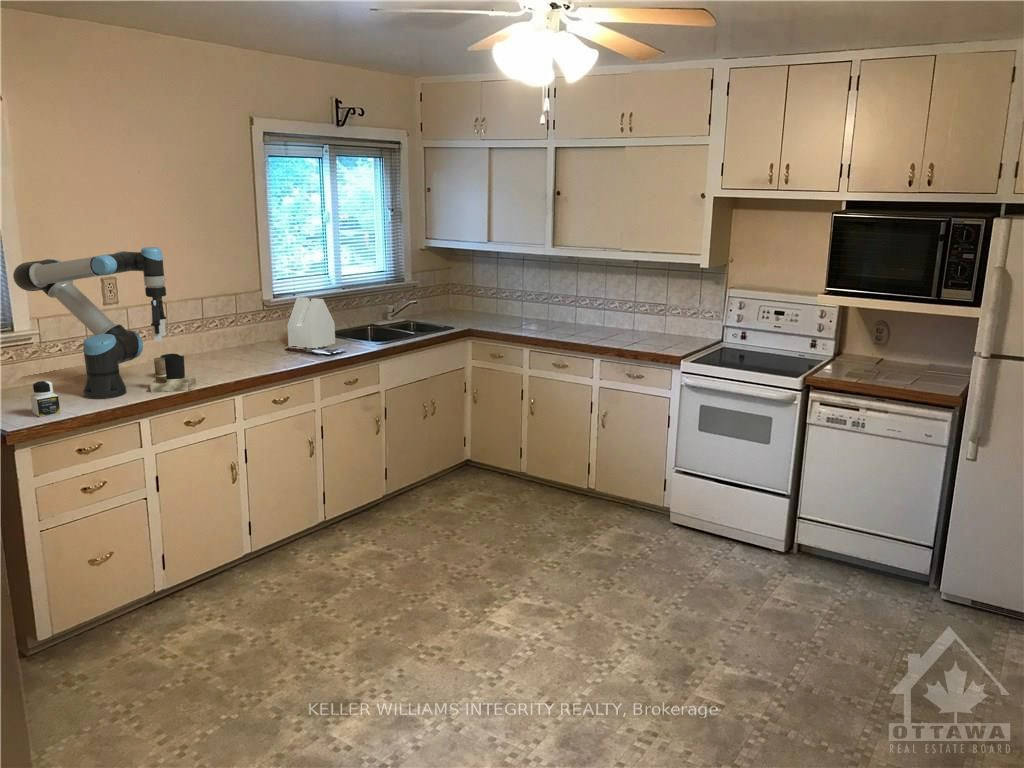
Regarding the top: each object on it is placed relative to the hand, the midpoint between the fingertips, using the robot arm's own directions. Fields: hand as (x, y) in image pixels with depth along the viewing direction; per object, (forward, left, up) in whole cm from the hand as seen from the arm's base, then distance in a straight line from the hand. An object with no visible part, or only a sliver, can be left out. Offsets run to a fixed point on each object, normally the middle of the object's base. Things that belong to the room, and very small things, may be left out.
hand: (160, 338), depth 318 cm
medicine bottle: (-35, -30, -21) cm, 51 cm away
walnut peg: (-1, -1, -18) cm, 18 cm away
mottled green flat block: (+4, -1, -21) cm, 21 cm away
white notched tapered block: (+59, +81, -22) cm, 102 cm away
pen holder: (+1, +18, -21) cm, 28 cm away
